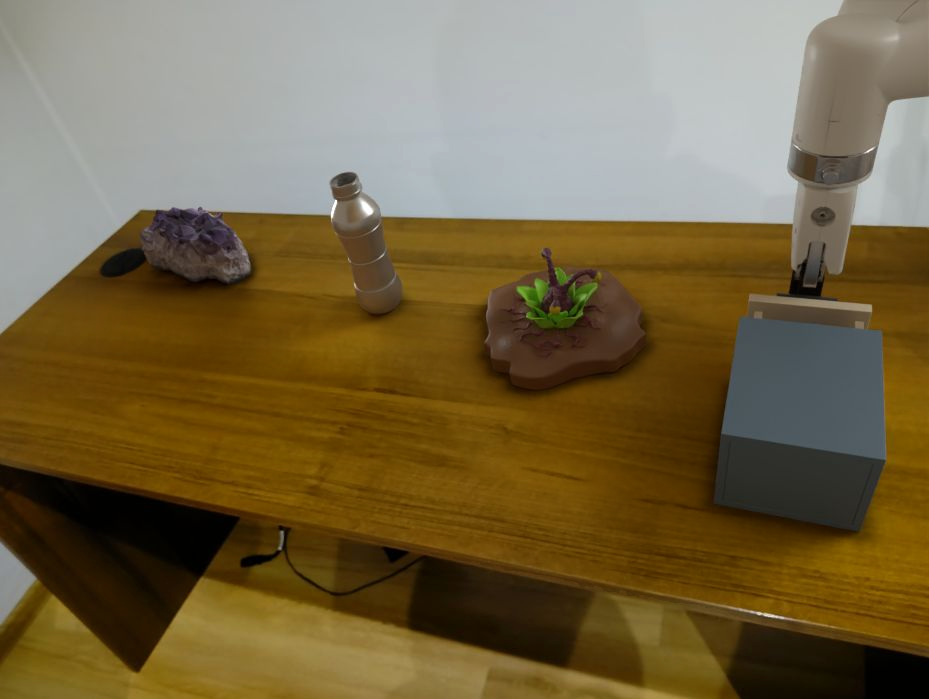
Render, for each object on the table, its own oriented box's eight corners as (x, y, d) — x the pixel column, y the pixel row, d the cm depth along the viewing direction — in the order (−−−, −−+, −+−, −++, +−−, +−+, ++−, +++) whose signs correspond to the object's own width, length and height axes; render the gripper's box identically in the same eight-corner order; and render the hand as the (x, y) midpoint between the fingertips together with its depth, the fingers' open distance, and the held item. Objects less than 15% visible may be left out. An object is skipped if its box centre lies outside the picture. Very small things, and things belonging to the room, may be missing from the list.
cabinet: (731, 388, 79) (739, 316, 72) (859, 405, 75) (881, 330, 68) (713, 503, 69) (721, 433, 62) (860, 532, 65) (886, 460, 58)
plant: (612, 266, 98) (610, 196, 91) (664, 361, 84) (666, 287, 76) (471, 300, 98) (456, 232, 91) (498, 401, 84) (483, 331, 76)
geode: (278, 250, 116) (251, 203, 109) (233, 301, 111) (202, 255, 103) (192, 227, 125) (162, 181, 118) (147, 272, 120) (112, 228, 112)
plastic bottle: (352, 315, 101) (306, 191, 87) (377, 286, 105) (337, 163, 91) (390, 324, 98) (349, 197, 84) (415, 293, 102) (379, 168, 88)
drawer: (745, 328, 84) (753, 269, 78) (854, 340, 80) (871, 278, 74) (727, 451, 72) (734, 392, 66) (854, 473, 68) (874, 412, 62)
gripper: (876, 199, 63) (838, 350, 75) (874, 118, 72) (841, 264, 85) (783, 195, 66) (761, 341, 78) (793, 117, 75) (772, 258, 87)
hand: (803, 300), depth 81 cm, fingers closed
